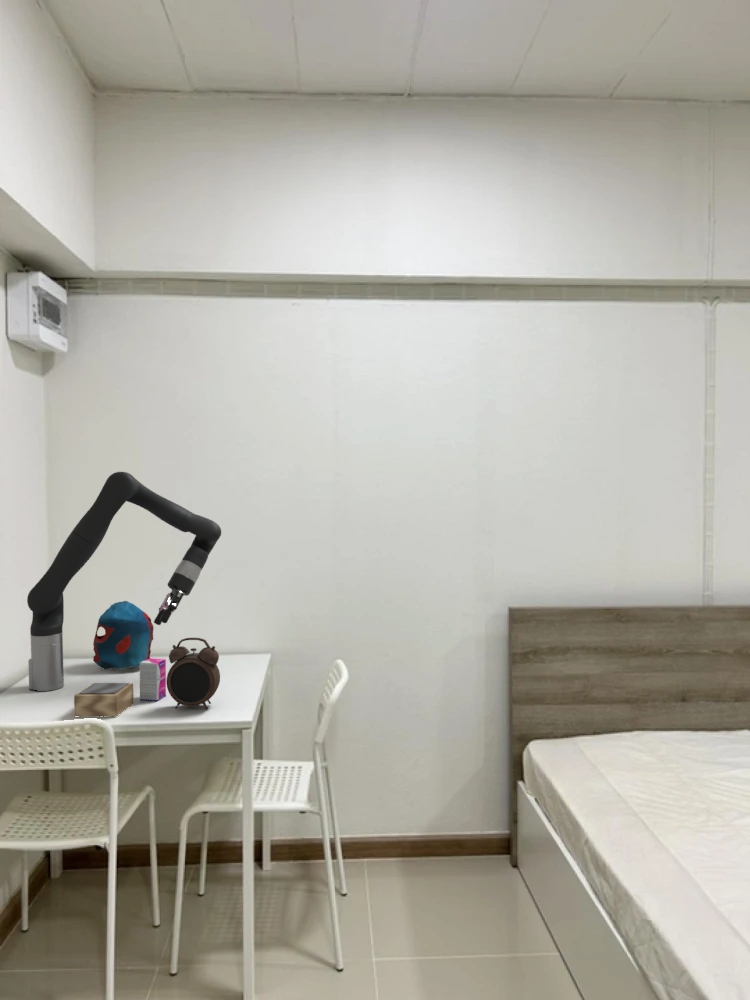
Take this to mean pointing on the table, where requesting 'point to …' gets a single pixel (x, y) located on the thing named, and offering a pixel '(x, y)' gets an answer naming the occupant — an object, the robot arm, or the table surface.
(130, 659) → the mask
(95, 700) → the pedestal
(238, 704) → the table surface
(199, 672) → the alarm clock
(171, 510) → the robot arm
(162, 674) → the supplement box
